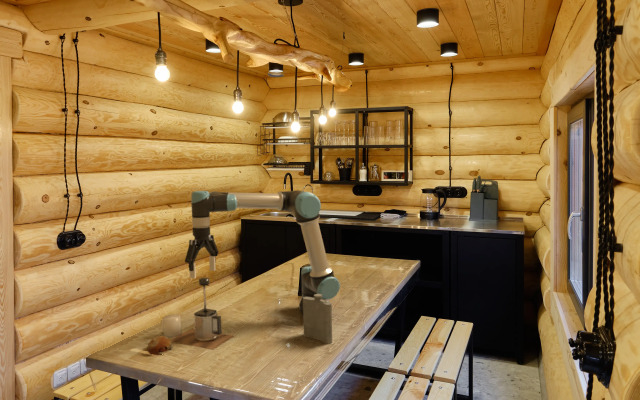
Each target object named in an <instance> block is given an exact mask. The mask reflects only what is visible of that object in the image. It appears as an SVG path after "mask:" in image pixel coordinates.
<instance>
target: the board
mask: <svg viewBox="0 0 640 400" xmlns="http://www.w3.org/2000/svg"><path fill="white" fill-rule="evenodd" d="M234 337H235V335H231V334H226V333H222V334H220V335H218V337H217V338H216V339H214V340H211V341H197V340H196V339H195V328H193V327H192V328H191V329H188V330H187V331H184V332H181V334H180V335H179V336H176V337H172V339H170V340H171V342H172V343H176V344H177V343H178V344H181V345H187V346H193V347H197V348H202V349H207V350H212V351H214V349H217V348H218V347H221V345H223V344H224V343H226V342H228V341H229V340H231V339H232V338H234Z"/></svg>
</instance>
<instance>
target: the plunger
mask: <svg viewBox="0 0 640 400" xmlns="http://www.w3.org/2000/svg"><path fill="white" fill-rule="evenodd" d="M198 284H199V286H202V289H203V290H202V291H203V309H204V313H207V309H208V308H207V290H206V286H209V285H210V278H209V277H199V278H198ZM211 315H213V314H211ZM211 315H209V316H211ZM198 316H199V315H198ZM200 317H205V316H200Z"/></svg>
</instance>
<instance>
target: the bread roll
mask: <svg viewBox="0 0 640 400" xmlns="http://www.w3.org/2000/svg"><path fill="white" fill-rule="evenodd" d="M173 343H174V342H171V339H170V337H166V336H163V335H158V336H155V337H154V338H152V339H151V340H150V341H149V343H148V345H147V352H148V354H150V355H152V354H153V356H161V355H162V354H163V353H165V352H168V351H171V350H172V348H173V347H174V345H173ZM162 356H163V355H162Z"/></svg>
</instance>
